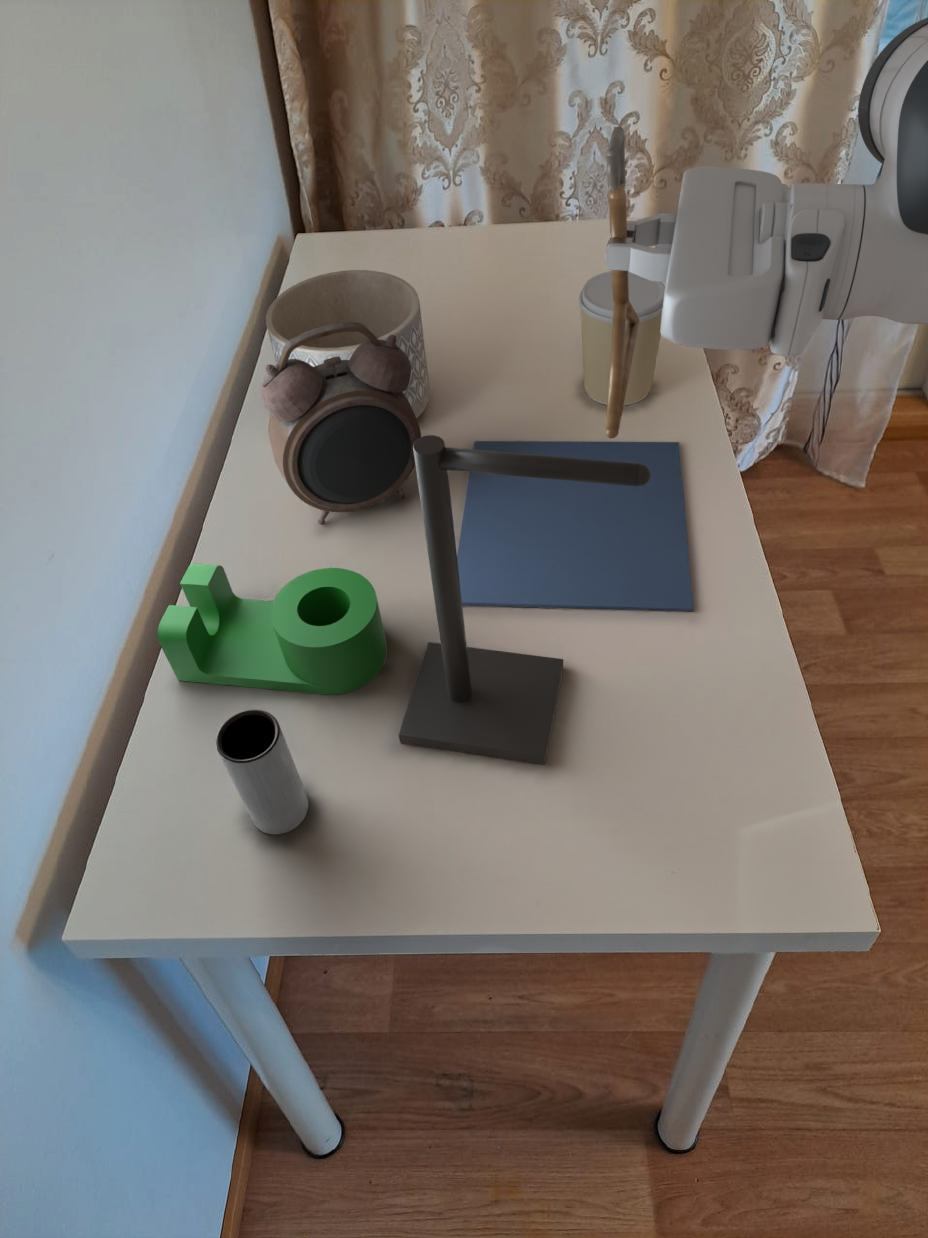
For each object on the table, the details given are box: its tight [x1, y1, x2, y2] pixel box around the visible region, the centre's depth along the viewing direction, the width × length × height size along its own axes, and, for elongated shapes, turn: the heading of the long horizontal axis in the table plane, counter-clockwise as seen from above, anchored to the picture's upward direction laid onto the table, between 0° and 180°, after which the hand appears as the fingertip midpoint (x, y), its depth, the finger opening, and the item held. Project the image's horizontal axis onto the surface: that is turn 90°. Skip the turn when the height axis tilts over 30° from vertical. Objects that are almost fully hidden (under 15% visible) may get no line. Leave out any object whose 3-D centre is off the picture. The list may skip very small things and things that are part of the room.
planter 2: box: [265, 269, 431, 419], centre depth 101 cm, size 16×16×13 cm
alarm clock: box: [260, 322, 422, 525], centre depth 87 cm, size 14×7×20 cm, turn 112°
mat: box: [457, 440, 694, 612], centre depth 90 cm, size 22×24×1 cm
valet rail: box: [398, 434, 650, 765], centre depth 65 cm, size 18×10×27 cm, turn 77°
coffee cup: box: [578, 270, 666, 407], centre depth 100 cm, size 9×9×12 cm
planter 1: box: [215, 709, 309, 835], centre depth 67 cm, size 4×4×10 cm
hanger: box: [604, 126, 639, 439], centre depth 68 cm, size 1×17×19 cm, turn 167°
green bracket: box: [157, 563, 388, 696], centre depth 79 cm, size 18×9×6 cm, turn 80°
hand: (608, 244), depth 67 cm, fingers closed on hanger, 1 cm apart
